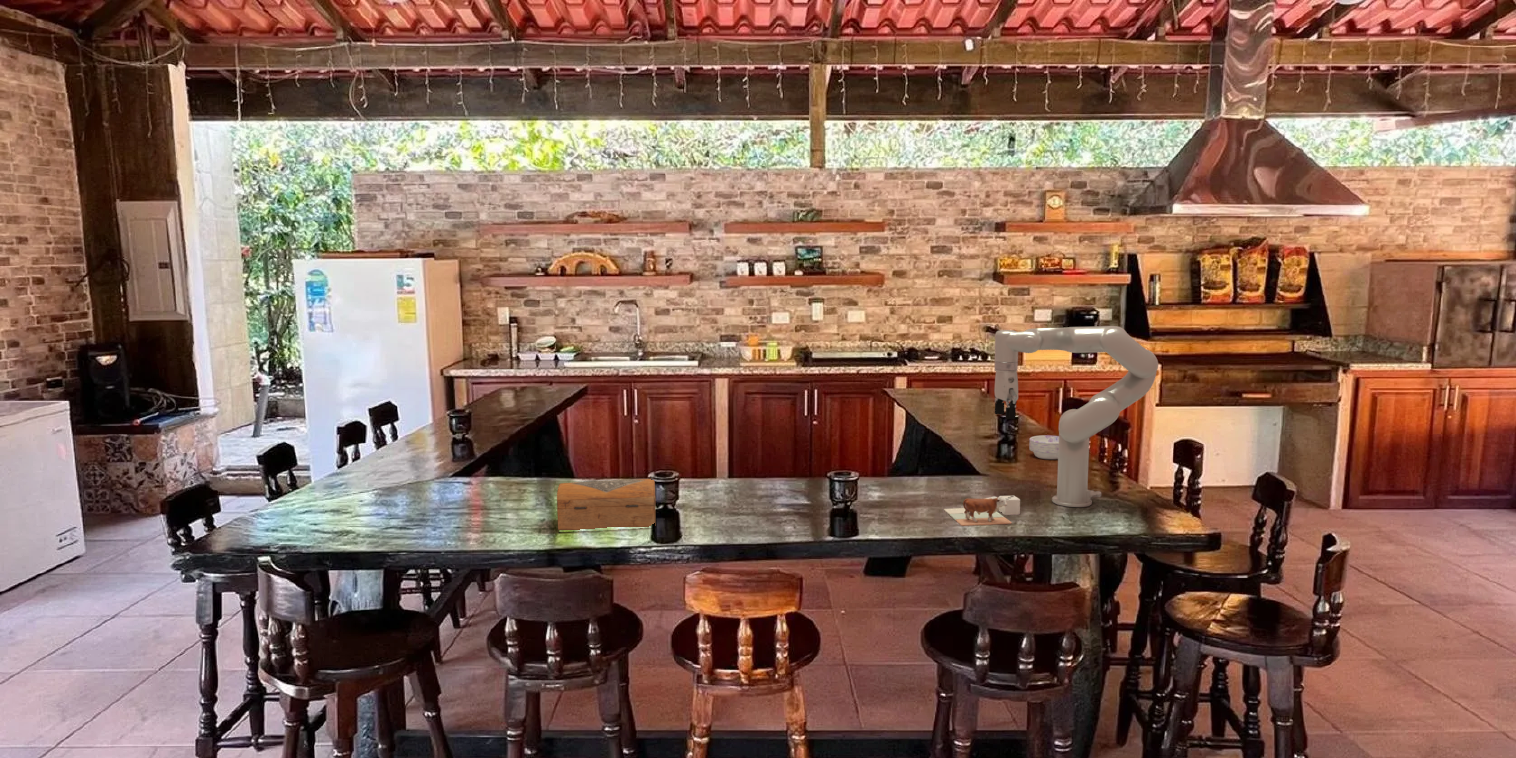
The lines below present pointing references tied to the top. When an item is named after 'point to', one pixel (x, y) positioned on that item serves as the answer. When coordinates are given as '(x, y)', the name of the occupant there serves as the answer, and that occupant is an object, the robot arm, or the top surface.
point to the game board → (976, 517)
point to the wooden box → (606, 504)
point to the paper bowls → (1045, 446)
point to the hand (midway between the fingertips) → (1004, 416)
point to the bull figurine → (983, 506)
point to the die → (1011, 506)
